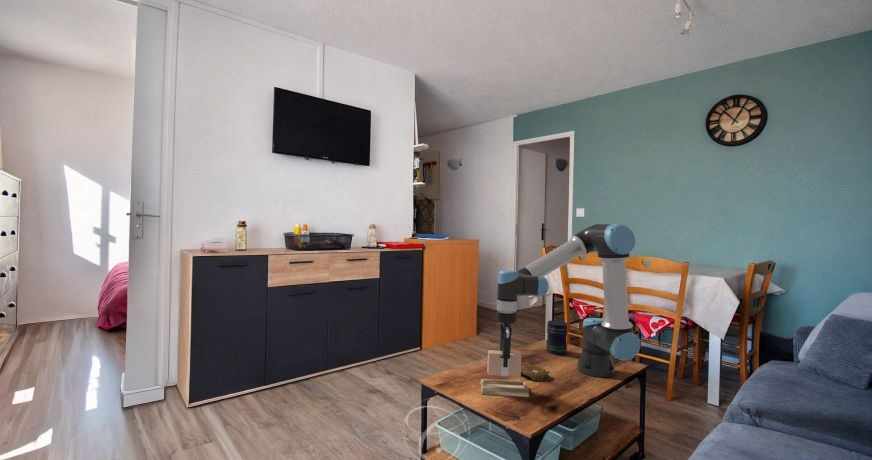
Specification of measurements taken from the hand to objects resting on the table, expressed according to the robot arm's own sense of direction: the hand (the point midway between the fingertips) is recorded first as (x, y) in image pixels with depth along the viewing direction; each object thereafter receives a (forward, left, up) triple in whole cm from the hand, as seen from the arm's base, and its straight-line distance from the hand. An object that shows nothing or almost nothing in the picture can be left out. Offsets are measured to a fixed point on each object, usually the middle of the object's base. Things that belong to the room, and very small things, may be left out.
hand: (503, 372), depth 148 cm
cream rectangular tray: (0, 0, -7) cm, 7 cm away
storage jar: (-32, -50, -7) cm, 60 cm away
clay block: (0, 0, 0) cm, 0 cm away
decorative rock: (-13, -17, -7) cm, 23 cm away
